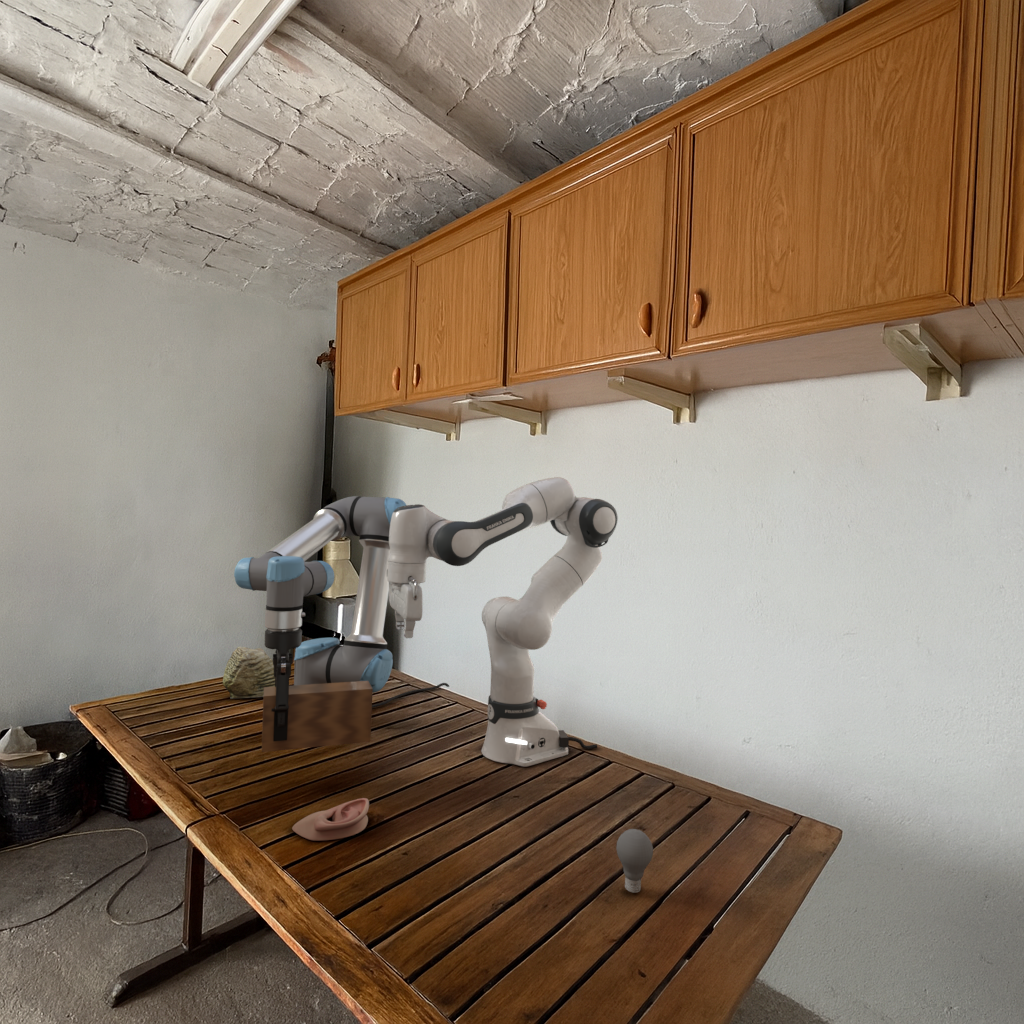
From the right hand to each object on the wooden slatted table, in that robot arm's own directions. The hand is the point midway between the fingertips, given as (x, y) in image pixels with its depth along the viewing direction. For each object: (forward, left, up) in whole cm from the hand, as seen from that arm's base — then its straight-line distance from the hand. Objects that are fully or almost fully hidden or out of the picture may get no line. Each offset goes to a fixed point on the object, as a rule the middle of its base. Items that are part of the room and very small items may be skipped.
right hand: (404, 633), depth 148 cm
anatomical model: (+19, +20, -32) cm, 42 cm away
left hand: (+26, -2, -21) cm, 34 cm away
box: (+19, -1, -23) cm, 30 cm away
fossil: (+25, -69, -32) cm, 80 cm away
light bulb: (-22, +59, -32) cm, 71 cm away
